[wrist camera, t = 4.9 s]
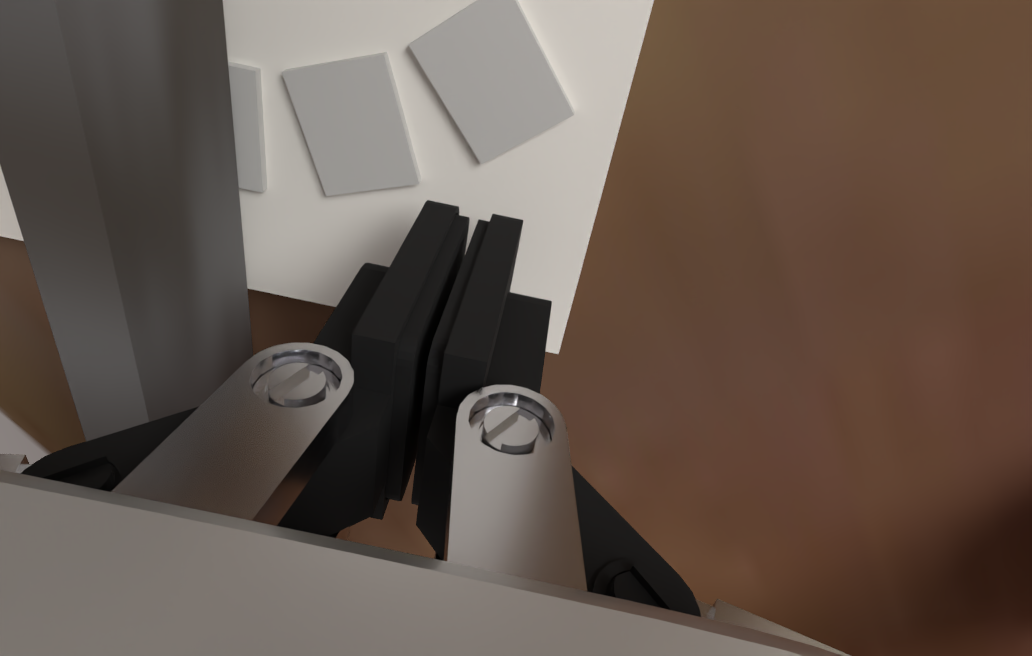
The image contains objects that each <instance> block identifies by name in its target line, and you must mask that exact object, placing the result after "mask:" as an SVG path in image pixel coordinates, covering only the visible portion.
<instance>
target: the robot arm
mask: <svg viewBox="0 0 1032 656" xmlns="http://www.w3.org/2000/svg"><path fill="white" fill-rule="evenodd" d="M469 220H470V219H469V217H466V216H461V215H459V207H458V206H454V205H449V204H444V203H440V202H435V201H430V200H427V201H426V202H425V204H424V206H423V208H422V209H421V211H420V213H419V215H418V217H417V218H416V220H415V222H414V224H413V226H412V227H411V229H410V231H409V233H408V235H407V236H406V238H405V240H404V242H403V243H402V245H401V247H400V249H399V251H398V252H397V254H396V256H395V258H394V260H393V261H392V263H391V265H390V267H387V266H382V265H377V264H372V263H364V265H363V266H362V267H361V268H360V270H359V272H358V273H357V275H356V276H355V278H354V279H353V281H352V283H351V284H350V286H349V287H348V289H347V291H346V292H345V294H344V295H343V297H342V299H341V300H340V302H339V303H338V305H337V306H336V308H335V310H334V311H333V313H332V314H331V316H330V318H329V319H328V321H327V322H326V324H325V326H324V327H323V329H322V330H321V332H320V333H319V335H318V337H317V338H316V340H315V341H314V343H313V344H312V343H287V344H281V345H276V346H273V347H270V348H268V349H265V350H263V351H260V352H258V353H257V354H255V355H254V356H253V357H251V358H250V359H248V360H247V361H246V362H245V363H244V364H243V365H242V366H241V367H240V368H239V369H238V370H237V371H236V372H235V373H234V374H232V375H231V376H230V377H229V378H228V379H227V380H226V381H225V382H224V383H223V384H222V385H221V386H220V387H219V388H218V389H217V390H216V391H215V392H214V393H213V394H212V395H211V396H210V397H209V398H208V399H207V400H206V401H205V402H203V403H202V404H201V405H200V406H199V407H195V408H192V409H189V410H186V411H183V412H179V413H176V414H173V415H170V416H166V417H163V418H160V419H157V420H154V421H150V422H147V423H144V424H141V425H138V426H134V427H131V428H128V429H125V430H121V431H118V432H115V433H112V434H109V435H105V436H102V437H99V438H96V439H93V440H89V441H86V442H83V443H80V444H77V445H73V446H70V447H67V448H64V449H62V450H59V451H57V452H54V453H52V454H50V455H47V456H45V457H43V458H41V459H40V460H38V461H37V462H35V463H34V464H29V462H28V460H27V457H26V455H12V454H0V656H851V655H848V654H846V653H844V652H841V651H839V650H837V649H834V648H832V647H829V646H827V645H825V644H822V643H820V642H818V641H815V640H813V639H811V638H808V637H806V636H804V635H801V634H799V633H796V632H794V631H792V630H789V629H787V628H785V627H782V626H780V625H778V624H775V623H773V622H771V621H768V620H766V619H764V618H761V617H759V616H756V615H754V614H752V613H749V612H747V611H745V610H742V609H740V608H738V607H735V606H733V605H731V604H728V603H726V602H724V601H721V600H719V599H717V600H716V601H715V603H714V604H713V606H710V605H708V604H706V603H703V602H701V601H699V600H696V599H695V597H694V595H693V592H692V591H691V590H690V588H689V587H688V586H687V584H686V583H685V582H684V581H683V579H682V578H681V577H680V575H679V574H678V573H677V572H676V571H675V570H674V569H673V568H672V567H671V566H670V565H669V564H668V563H667V562H666V561H665V560H664V559H663V558H662V557H661V556H660V555H659V554H658V553H657V552H656V551H655V550H654V549H653V548H652V547H651V546H650V545H649V544H648V543H647V542H646V541H645V540H644V539H643V538H642V537H641V536H640V535H639V534H638V533H637V532H636V531H635V530H634V529H633V528H632V527H631V526H630V525H629V524H628V522H627V521H626V520H625V519H624V518H623V517H622V516H621V515H620V514H619V513H618V512H617V511H616V510H615V509H614V508H613V507H612V506H611V505H610V504H609V503H608V502H607V501H606V500H605V499H604V498H603V497H602V496H601V495H600V494H599V493H598V492H597V491H596V490H595V489H594V488H593V487H592V486H591V485H590V484H589V483H588V482H587V481H586V480H585V479H584V478H583V477H582V476H581V475H580V474H579V473H578V472H577V471H576V470H575V469H574V468H573V466H572V465H571V458H570V451H569V443H568V435H567V427H566V424H565V421H564V418H563V415H562V414H561V413H560V411H559V410H558V409H557V407H556V406H555V405H554V404H553V403H552V402H550V401H549V400H548V399H546V398H545V397H544V396H543V395H541V394H540V387H541V379H542V372H543V365H544V357H545V350H546V343H547V335H548V328H549V321H550V313H551V306H552V301H550V300H545V299H540V298H535V297H531V296H526V295H521V294H516V293H511V292H510V288H511V283H512V278H513V273H514V267H515V262H516V257H517V252H518V247H519V242H520V237H521V231H522V226H523V220H521V219H516V218H511V217H507V216H502V215H497V214H492V216H491V219H490V221H485V220H480V219H479V220H478V222H477V225H476V227H475V230H474V233H473V235H472V238H471V241H470V243H469V246H468V249H467V251H466V244H467V237H468V230H469ZM465 251H466V254H465ZM415 460H416V465H415V474H414V483H413V492H412V504H416V505H418V513H417V521H416V525H417V527H418V528H419V529H420V531H421V532H422V533H423V535H424V536H425V538H426V539H427V540H428V542H429V543H430V545H431V546H432V547H433V549H434V550H435V556H434V559H432V558H428V557H423V556H418V555H413V554H408V553H404V552H399V551H394V550H389V549H384V548H380V547H375V546H370V545H365V544H361V543H356V542H351V541H347V539H348V537H349V534H350V526H352V525H354V524H356V523H358V522H360V521H362V520H364V519H367V518H369V517H371V518H376V519H381V520H382V519H383V516H384V513H385V510H386V507H387V505H388V502H389V499H392V500H397V501H401V500H402V498H403V496H404V493H405V490H406V487H407V484H408V481H409V478H410V475H411V472H412V469H413V466H414V463H415Z"/></svg>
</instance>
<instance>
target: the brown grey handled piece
mask: <svg viewBox="0 0 1032 656" xmlns="http://www.w3.org/2000/svg"><path fill="white" fill-rule="evenodd" d="M0 166H1V169H2V172H3V176H4V179H5V182H6V185H7V188H8V192H9V195H10V198H11V201H12V204H13V208H14V211H15V214H16V217H17V221H18V224H19V227H20V230H21V233H22V237H23V240H24V243H25V246H26V249H27V253H28V256H29V259H30V262H31V265H32V269H33V272H34V275H35V278H36V281H37V285H38V288H39V291H40V294H41V298H42V301H43V304H44V307H45V310H46V314H47V317H48V320H49V323H50V326H51V330H52V333H53V336H54V339H55V342H56V346H57V349H58V352H59V355H60V359H61V362H62V365H63V368H64V371H65V375H66V378H67V381H68V384H69V387H70V391H71V394H72V397H73V400H74V403H75V407H76V410H77V413H78V416H79V420H80V423H81V426H82V429H83V432H84V436H85V439H86V441H89V440H93V439H96V438H99V437H102V436H105V435H109V434H112V433H115V432H118V431H121V430H125V429H128V428H131V427H134V426H138V425H141V424H144V423H147V422H150V421H154V420H157V419H160V418H163V417H166V416H170V415H173V414H176V413H179V412H183V411H186V410H189V409H192V408H195V407H199V406H200V405H201V404H202V403H203V402H205V401H206V400H207V399H208V398H209V397H210V396H211V395H212V394H213V393H214V392H215V391H216V390H217V389H218V388H219V387H220V386H221V385H222V384H223V383H224V382H225V381H226V380H227V379H228V378H229V377H230V376H231V375H232V374H234V373H235V372H236V371H237V370H238V369H239V368H240V367H241V366H242V365H243V364H244V363H245V362H246V361H247V360H248V359H250V358H251V357H253V348H252V336H251V325H250V313H249V301H248V290H247V278H246V266H245V255H244V243H243V231H242V220H241V208H240V197H239V185H238V173H237V162H236V150H235V138H234V127H233V115H232V103H231V92H230V80H229V68H228V57H227V45H226V33H225V22H224V10H223V0H0Z"/></svg>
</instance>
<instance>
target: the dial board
mask: <svg viewBox="0 0 1032 656" xmlns="http://www.w3.org/2000/svg"><path fill="white" fill-rule="evenodd" d="M653 2H654V0H223V10H224V22H225V33H226V45H227V57H228V68H229V80H230V92H231V103H232V115H233V127H234V138H235V150H236V162H237V173H238V185H239V197H240V208H241V220H242V231H243V243H244V255H245V266H246V278H247V288H248V289H253V290H258V291H262V292H267V293H272V294H276V295H281V296H286V297H291V298H295V299H300V300H305V301H310V302H314V303H319V304H324V305H328V306H333V307H336V306H337V305H338V303H339V302H340V300H341V299H342V297H343V295H344V294H345V292H346V291H347V289H348V287H349V286H350V284H351V283H352V281H353V279H354V278H355V276H356V275H357V273H358V272H359V270H360V268H361V267H362V266H363V265H364V263H372V264H377V265H382V266H387V267H390V265H391V263H392V261H393V260H394V258H395V256H396V254H397V252H398V251H399V249H400V247H401V245H402V243H403V242H404V240H405V238H406V236H407V235H408V233H409V231H410V229H411V227H412V226H413V224H414V222H415V220H416V218H417V217H418V215H419V213H420V211H421V209H422V208H423V206H424V204H425V202H426V201H427V200H430V201H435V202H440V203H444V204H449V205H454V206H458V207H459V215H461V216H466V217H469V219H470V220H469V230H468V237H467V244H466V251H467V249H468V246H469V243H470V241H471V238H472V235H473V233H474V230H475V227H476V225H477V222H478V220H479V219H480V220H485V221H490V219H491V216H492V214H497V215H502V216H507V217H511V218H516V219H521V220H523V226H522V231H521V237H520V242H519V247H518V252H517V257H516V262H515V267H514V273H513V278H512V283H511V288H510V292H511V293H516V294H521V295H526V296H531V297H535V298H540V299H545V300H550V301H552V306H551V313H550V321H549V328H548V335H547V343H546V350H545V351H546V352H551V353H555V354H559V350H560V346H561V343H562V339H563V335H564V332H565V328H566V324H567V321H568V317H569V313H570V309H571V306H572V302H573V298H574V295H575V291H576V287H577V283H578V280H579V276H580V272H581V269H582V265H583V261H584V257H585V254H586V250H587V246H588V243H589V239H590V235H591V232H592V228H593V224H594V220H595V217H596V213H597V209H598V206H599V202H600V198H601V194H602V191H603V187H604V183H605V180H606V176H607V172H608V169H609V165H610V161H611V157H612V154H613V150H614V146H615V143H616V139H617V135H618V131H619V128H620V124H621V120H622V117H623V113H624V109H625V105H626V102H627V98H628V94H629V91H630V87H631V83H632V80H633V76H634V72H635V68H636V65H637V61H638V57H639V54H640V50H641V46H642V42H643V39H644V35H645V31H646V28H647V24H648V20H649V17H650V13H651V9H652V5H653ZM0 236H2V237H7V238H12V239H16V240H21V241H24V240H23V237H22V233H21V230H20V227H19V224H18V221H17V217H16V214H15V211H14V208H13V204H12V201H11V198H10V195H9V192H8V188H7V185H6V182H5V179H4V176H3V172H2V169H1V166H0ZM466 251H465V254H466Z"/></svg>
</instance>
